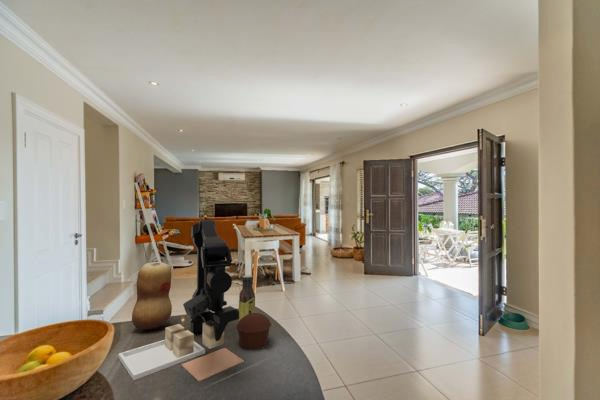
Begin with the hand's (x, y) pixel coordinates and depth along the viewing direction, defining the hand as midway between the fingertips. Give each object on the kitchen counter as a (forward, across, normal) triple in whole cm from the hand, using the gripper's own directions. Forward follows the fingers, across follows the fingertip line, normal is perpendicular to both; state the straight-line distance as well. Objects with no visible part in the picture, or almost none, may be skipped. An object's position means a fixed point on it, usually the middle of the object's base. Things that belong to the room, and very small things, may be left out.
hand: (213, 337), depth 83 cm
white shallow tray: (+8, -15, -9) cm, 19 cm away
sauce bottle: (+8, -15, +22) cm, 28 cm away
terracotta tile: (+8, 0, 0) cm, 8 cm away
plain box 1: (+7, -18, -4) cm, 20 cm away
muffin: (+8, -2, +16) cm, 18 cm away
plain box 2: (+7, -11, -4) cm, 14 cm away
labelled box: (+2, 0, 0) cm, 2 cm away
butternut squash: (+8, -40, -4) cm, 41 cm away
